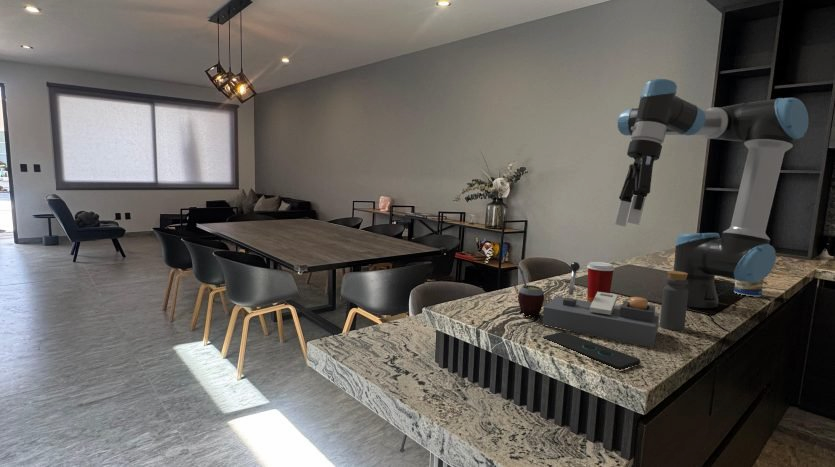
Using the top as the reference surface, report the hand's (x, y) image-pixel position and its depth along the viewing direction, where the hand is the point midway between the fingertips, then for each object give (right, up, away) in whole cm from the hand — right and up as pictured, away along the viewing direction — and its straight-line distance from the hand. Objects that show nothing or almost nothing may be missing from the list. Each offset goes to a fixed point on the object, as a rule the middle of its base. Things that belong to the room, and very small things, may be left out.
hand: (625, 224), depth 117 cm
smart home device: (-15, -29, -14) cm, 36 cm away
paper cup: (+1, -25, +21) cm, 33 cm away
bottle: (+15, -28, +7) cm, 32 cm away
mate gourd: (-22, -25, +13) cm, 36 cm away
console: (-5, -27, +3) cm, 28 cm away
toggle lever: (-12, -19, +7) cm, 23 cm away
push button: (+2, -21, -2) cm, 21 cm away
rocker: (-5, -20, +2) cm, 21 cm away
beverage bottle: (+66, -24, +49) cm, 86 cm away
